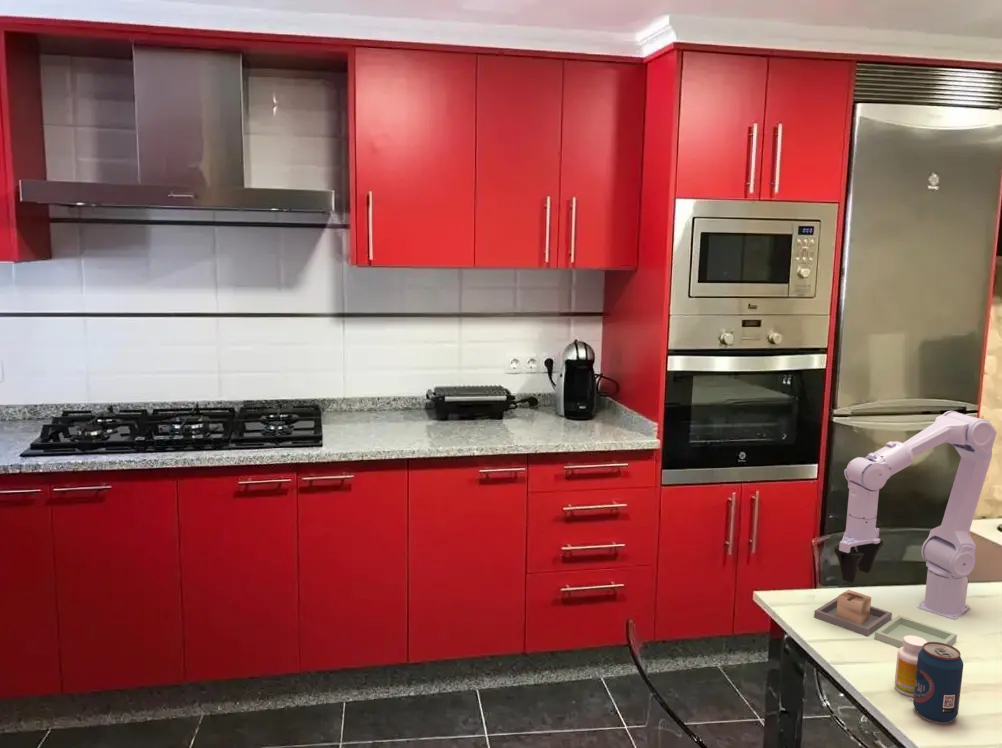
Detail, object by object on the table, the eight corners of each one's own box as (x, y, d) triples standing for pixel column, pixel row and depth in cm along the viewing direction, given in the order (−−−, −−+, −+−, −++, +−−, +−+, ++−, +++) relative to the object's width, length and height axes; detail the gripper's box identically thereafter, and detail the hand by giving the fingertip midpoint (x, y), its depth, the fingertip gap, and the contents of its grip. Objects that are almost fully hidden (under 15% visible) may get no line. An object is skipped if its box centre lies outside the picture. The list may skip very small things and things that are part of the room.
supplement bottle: (930, 699, 150) (936, 649, 148) (898, 696, 151) (903, 645, 150) (922, 684, 155) (927, 635, 154) (891, 680, 156) (895, 631, 155)
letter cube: (846, 611, 184) (848, 589, 184) (869, 618, 181) (871, 596, 180) (835, 618, 181) (837, 595, 180) (858, 626, 177) (860, 603, 176)
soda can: (904, 703, 149) (910, 640, 147) (942, 702, 149) (948, 639, 147) (926, 726, 142) (933, 660, 140) (966, 725, 142) (973, 659, 140)
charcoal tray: (838, 603, 189) (839, 595, 189) (891, 620, 181) (892, 612, 180) (813, 618, 181) (814, 610, 181) (867, 637, 173) (868, 629, 173)
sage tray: (897, 623, 180) (898, 615, 179) (956, 642, 171) (956, 634, 171) (874, 640, 172) (875, 631, 172) (933, 661, 164) (934, 652, 163)
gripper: (865, 527, 169) (859, 591, 172) (895, 512, 179) (889, 572, 181) (831, 518, 175) (826, 580, 177) (862, 504, 184) (857, 563, 187)
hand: (856, 576), depth 179 cm, fingers open, 7 cm apart
